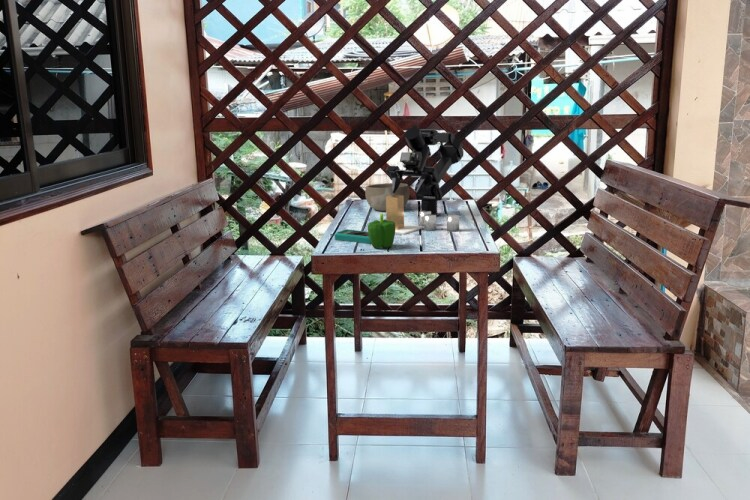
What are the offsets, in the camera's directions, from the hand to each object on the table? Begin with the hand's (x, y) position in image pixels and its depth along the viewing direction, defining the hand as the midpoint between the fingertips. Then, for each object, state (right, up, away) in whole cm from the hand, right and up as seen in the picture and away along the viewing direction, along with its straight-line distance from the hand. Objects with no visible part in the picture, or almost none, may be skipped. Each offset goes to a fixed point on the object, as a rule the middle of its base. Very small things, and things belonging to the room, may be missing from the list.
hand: (404, 193), depth 226 cm
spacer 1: (+7, -11, +1) cm, 13 cm away
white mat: (-3, -13, -3) cm, 13 cm away
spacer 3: (+16, -13, -8) cm, 22 cm away
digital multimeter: (-16, -17, -17) cm, 29 cm away
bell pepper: (-8, -19, -28) cm, 35 cm away
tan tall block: (-3, -12, -4) cm, 13 cm away
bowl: (-5, -4, +35) cm, 36 cm away
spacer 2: (+8, -13, -5) cm, 16 cm away
